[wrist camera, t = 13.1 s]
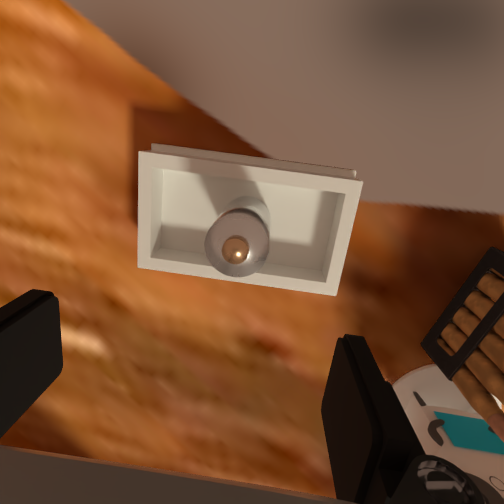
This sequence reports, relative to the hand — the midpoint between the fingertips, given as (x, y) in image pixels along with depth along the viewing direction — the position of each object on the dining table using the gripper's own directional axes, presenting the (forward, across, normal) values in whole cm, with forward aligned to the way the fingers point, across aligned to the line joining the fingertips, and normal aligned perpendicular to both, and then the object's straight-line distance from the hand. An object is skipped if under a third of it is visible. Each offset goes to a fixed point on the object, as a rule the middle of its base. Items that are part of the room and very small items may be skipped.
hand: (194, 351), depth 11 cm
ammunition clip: (+18, -20, +4) cm, 28 cm away
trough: (+18, 0, -1) cm, 18 cm away
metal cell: (+17, 0, -1) cm, 17 cm away
